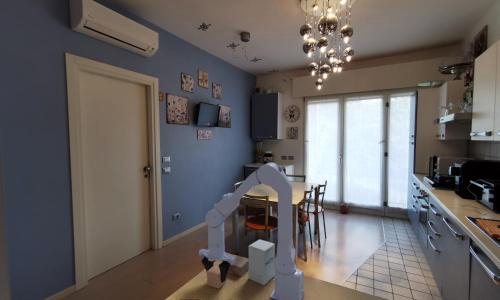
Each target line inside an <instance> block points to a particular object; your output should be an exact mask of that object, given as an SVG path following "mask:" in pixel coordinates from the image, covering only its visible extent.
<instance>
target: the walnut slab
mask: <svg viewBox="0 0 500 300" xmlns="http://www.w3.org/2000/svg"><path fill="white" fill-rule="evenodd" d="M231 256H233V257H235V260H236V262H235V263H234V264H233V265H230V267H229V269H228V273H227V274H230V275H233V276H237V277H240V278H242V277H243V276H244V275H245V274H246V273H248V272H249V257H248V258H247V257H244V256H240V255H236V254H232V255H231Z"/></svg>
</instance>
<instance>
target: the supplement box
mask: <svg viewBox="0 0 500 300" xmlns="http://www.w3.org/2000/svg"><path fill="white" fill-rule="evenodd" d="M275 246H276V244H275V243H273V242H270V241H266V240H263V239H258V240H256V241H254V242H253V243H251V244H249V245H248V259H249V270H248V279H249V280H252V281H254V282H256V283H258V284H260V285H262V286H266V284H267V283H268V282H269V281H271V280H272V279H273V278H275V266H274V259H275V257H276V251H275V249H276V247H275Z"/></svg>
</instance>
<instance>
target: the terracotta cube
mask: <svg viewBox="0 0 500 300" xmlns="http://www.w3.org/2000/svg"><path fill="white" fill-rule="evenodd" d="M227 278H228V277H226V280H225V281H224V282H223V283H221V274H220V269H219V264H218V265H217V264H214V265H213V267H212V268H210V269H209V270H208V271H207V272H206V285H207V286H209V287H211V288H215V289H218V290H220V289H221V288H222V287H223V286H224V284H226V283H227V281H228V279H227Z"/></svg>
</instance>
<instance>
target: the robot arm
mask: <svg viewBox="0 0 500 300" xmlns="http://www.w3.org/2000/svg"><path fill="white" fill-rule="evenodd" d="M262 184H263V185H265V186H267V187H270V188H271V189H272V190H274V191H275V192H276V193H277V245H276V254H275V259H274V266H275V276H274V289H273V290H272V293H271V294H270V298H271V299H273V300H302V299H303V297H304V296H305V295H304V294H305V272H304V271H302V270H300V269H298V268H297V265H296V263H295V259H296V254H297V251H296V248H295V246H294V239H293V185H292V183H291V181H290V180H289V178H288V176H287V174H286V173H285V171H284V169H283V168H282V167H281V166H280V165H279V164H277V163H275V162H272V161H269V162H267V163H266V164H263V165H261V166H260V167H259V168H258V169H256V170H255V171H253V172H252V173H250V175H248V176H247V178H246V179H245V180H244V181H243V182H242V183H241V184H240V185H239V186H238V187H237V188H236V190H235V191H233V192H228V193H227V194H223V195H222V196H221V198H222V199H221V200H220V201H219V202H218V203H214V205H213V208H212V209H211V210H209V211H207V213H206V214H205V216H204V221H205V223H206V225H207V232H208V233H207V234H208V235H207V236H208V238H207V241H208V244H207V245H208V246H207V247H208V248H207V249H205V248H201V249H200V250H198V257H199V258H200V257H203V258H202V260H201V264H202V265H203V267H204V270H205V272H206V273H207V271H208V270H209V269H210V268H212V267H213V266H214V265H215V264H214V263H215V261H219V262H220V264H218V265H219V269H220V274H221V283H223V282H224V281H225V280H226V277H227V275H228V274H229V273H228V269H229V267H230V265H233V264H234V263H235V262H236V260H235V257H233V256H232V255H231V254H229V253H228V252H225V250H226V249H225V220H226V219H227V218H228V217H229V216H230V215H231V214H232V213H233V212H234V211H235V210H236V209H237V208H238V207H240V200H241V199H242V198H243V197H244V196H245V195H246V194H247V193H248V192H249V191H250V190H251V189H252V188H254V187H255V186H260V185H262ZM227 278H228V277H227Z"/></svg>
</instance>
